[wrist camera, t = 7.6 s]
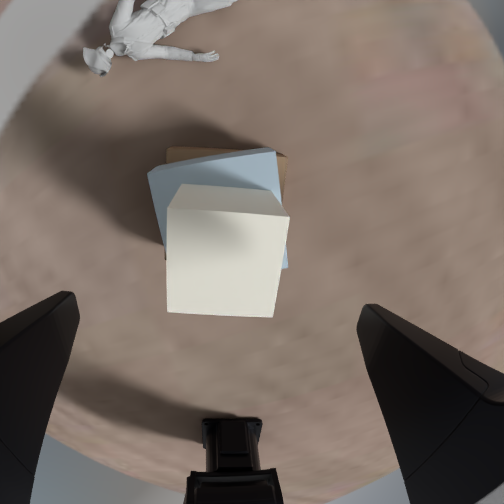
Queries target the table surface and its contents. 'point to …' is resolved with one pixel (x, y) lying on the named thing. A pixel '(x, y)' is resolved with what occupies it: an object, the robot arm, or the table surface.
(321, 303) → the table surface
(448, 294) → the table surface
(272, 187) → the tower mid
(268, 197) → the cube
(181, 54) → the soldier figure
